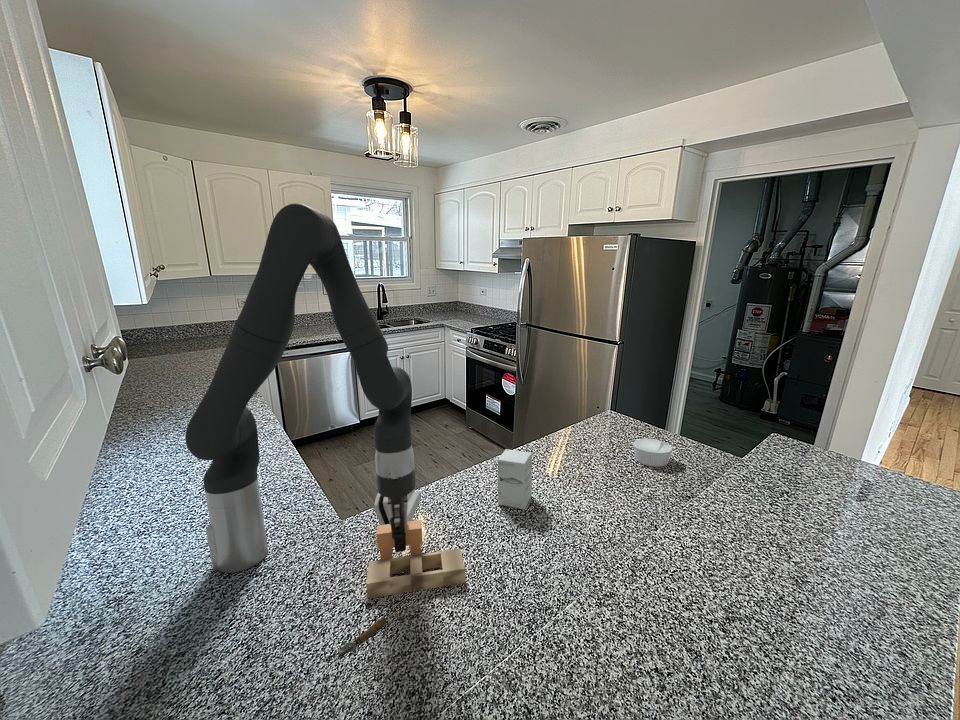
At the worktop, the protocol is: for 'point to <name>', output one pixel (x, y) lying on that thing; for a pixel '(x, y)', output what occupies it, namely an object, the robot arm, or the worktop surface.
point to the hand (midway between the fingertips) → (400, 544)
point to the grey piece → (382, 508)
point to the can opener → (363, 636)
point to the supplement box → (514, 478)
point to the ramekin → (652, 452)
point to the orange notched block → (412, 537)
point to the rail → (415, 573)
